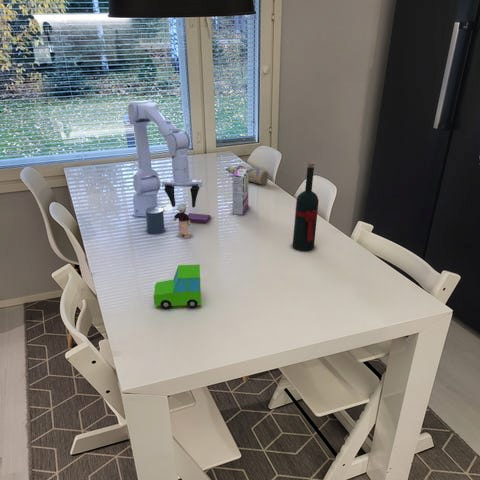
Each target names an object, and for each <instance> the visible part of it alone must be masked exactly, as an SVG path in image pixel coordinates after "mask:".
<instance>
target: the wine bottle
mask: <svg viewBox="0 0 480 480" xmlns="http://www.w3.org/2000/svg"><path fill="white" fill-rule="evenodd" d="M314 169H315V164H314V162H308V163H307V167H306V177H305V178H306V179H305V188H304V189H305V190H304V191H302V192H300V193H299V194H298V195H297V197H296V201H295V202H296V203H295V204H296V205H295V214H294V225H293V236H292V249H294V250H296V251H299V252H311V251H313V250H314V249H315V241H316V231H317V221H318V211H319V202H320V201H319V200H320V199H319V197H318V195H317V194H316V192H314V191H313V181H314V171H315V170H314Z"/></svg>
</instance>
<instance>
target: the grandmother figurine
mask: <svg viewBox="0 0 480 480" xmlns="http://www.w3.org/2000/svg"><path fill="white" fill-rule="evenodd" d="M186 208H187V205H186V204H185V203H184V202H181V203H179V204H178V206H177V208H176V210H177V211H178V212H177V213H176V214H175V215H174V217H173V222H176V221H177V219H178V233H179V234H178V237H180V238H184V239H188V238H191V234H189V229H188V226H192V222H190V219H189V217H188V213H186V211H187V209H186Z"/></svg>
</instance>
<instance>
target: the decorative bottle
mask: <svg viewBox="0 0 480 480" xmlns="http://www.w3.org/2000/svg"><path fill="white" fill-rule="evenodd" d="M238 169H248V170H249V178H248V182H250V183H255V184H258V185H261V186H263V185H265V184H267V183H268V181H269V173H268V171H267V170H262V169H258V168H255V167H250V166H246V165H241V164H239V165H237V166H227V167H226V168H225V170H226V171H227V172H228V173H230V174H232V176H233V175H234V174H235V172H236V171H237V170H238Z"/></svg>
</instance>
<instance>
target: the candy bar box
mask: <svg viewBox="0 0 480 480" xmlns="http://www.w3.org/2000/svg"><path fill="white" fill-rule="evenodd" d="M248 178H249V170H248V169H238V170H237V171H236V172H235V174H234V175H233V174H232V214H233V215H236V216H237V215H239V216H244V215H245V214H246V212H247V209H248V208H249V181H248Z"/></svg>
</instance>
